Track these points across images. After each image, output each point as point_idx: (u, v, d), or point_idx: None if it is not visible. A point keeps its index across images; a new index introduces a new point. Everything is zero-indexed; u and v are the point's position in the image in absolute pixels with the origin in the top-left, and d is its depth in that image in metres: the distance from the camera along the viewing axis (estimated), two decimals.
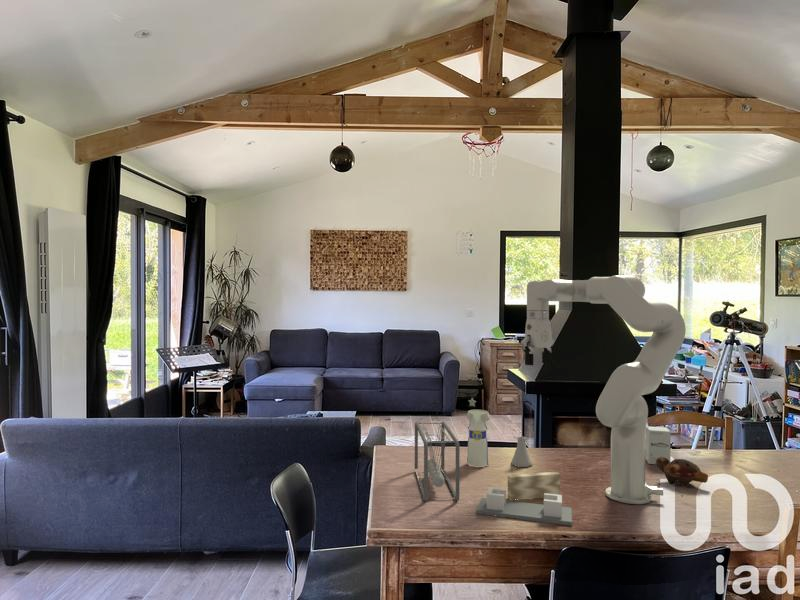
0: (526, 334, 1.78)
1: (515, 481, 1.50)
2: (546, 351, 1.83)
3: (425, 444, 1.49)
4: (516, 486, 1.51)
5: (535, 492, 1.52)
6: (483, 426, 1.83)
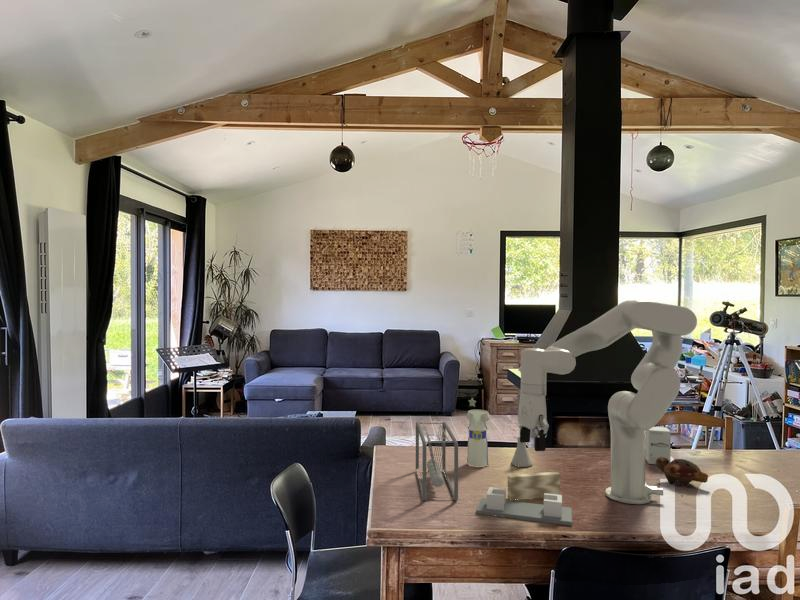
0: None
1: (515, 481, 1.50)
2: None
3: (424, 444, 1.49)
4: (516, 486, 1.51)
5: (535, 492, 1.52)
6: (483, 426, 1.83)
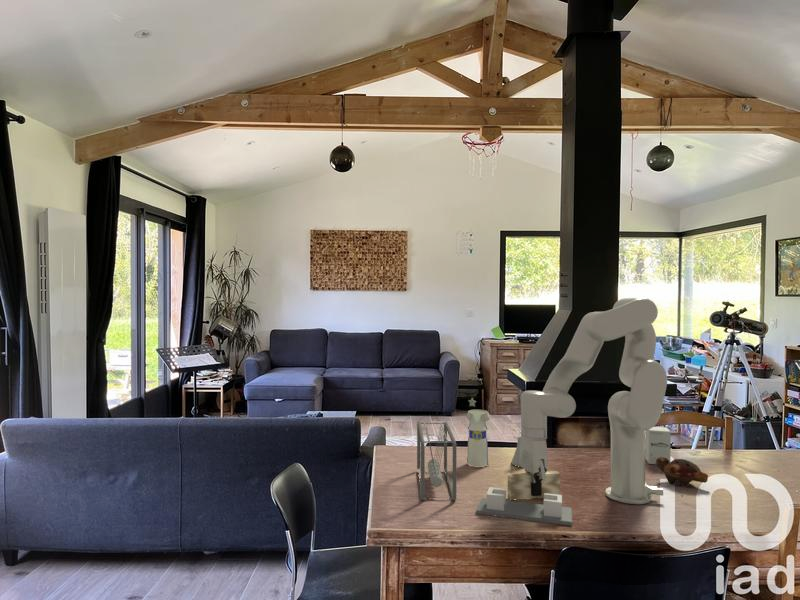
0: None
1: (515, 480, 1.50)
2: None
3: (422, 444, 1.49)
4: (516, 485, 1.51)
5: None
6: (483, 426, 1.83)
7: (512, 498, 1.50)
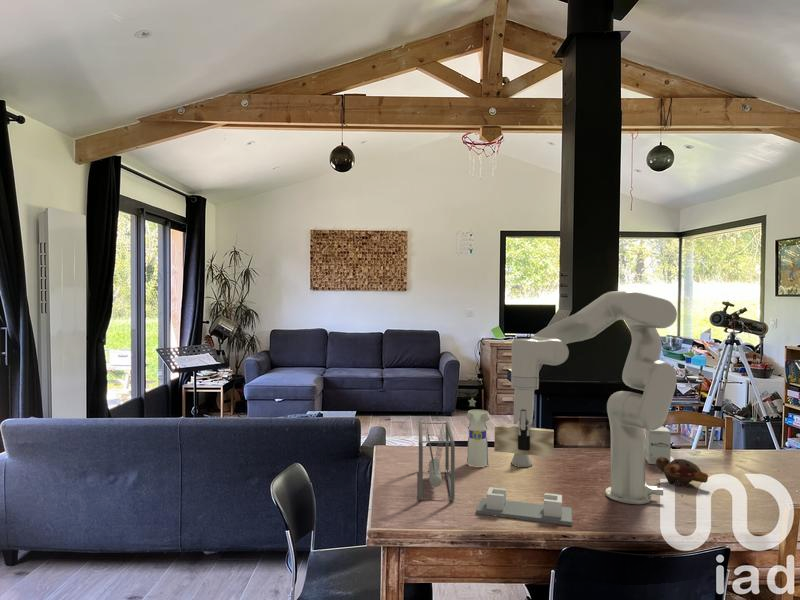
0: None
1: (499, 431, 1.44)
2: None
3: (420, 444, 1.49)
4: (500, 436, 1.44)
5: None
6: (483, 426, 1.83)
7: (496, 449, 1.44)
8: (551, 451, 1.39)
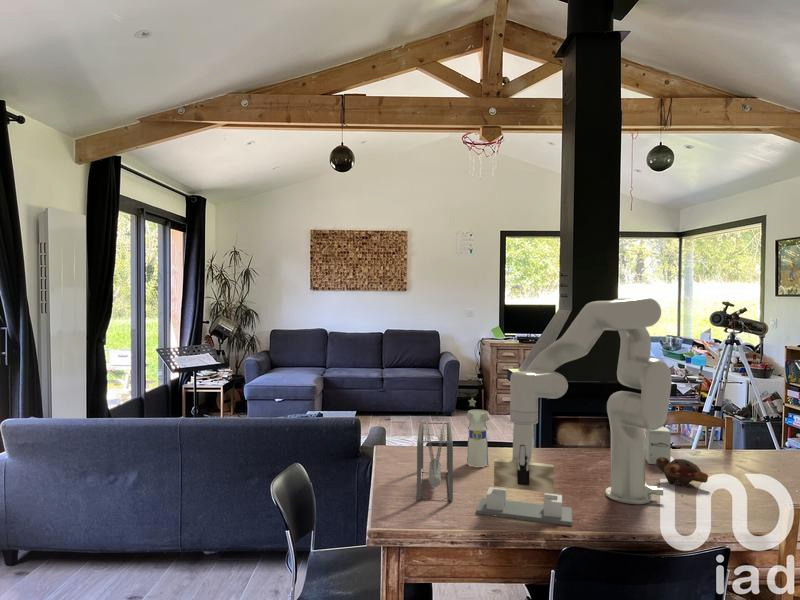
0: None
1: (499, 466, 1.42)
2: None
3: (418, 443, 1.50)
4: (500, 471, 1.42)
5: None
6: (483, 426, 1.83)
7: (495, 484, 1.42)
8: (551, 487, 1.38)
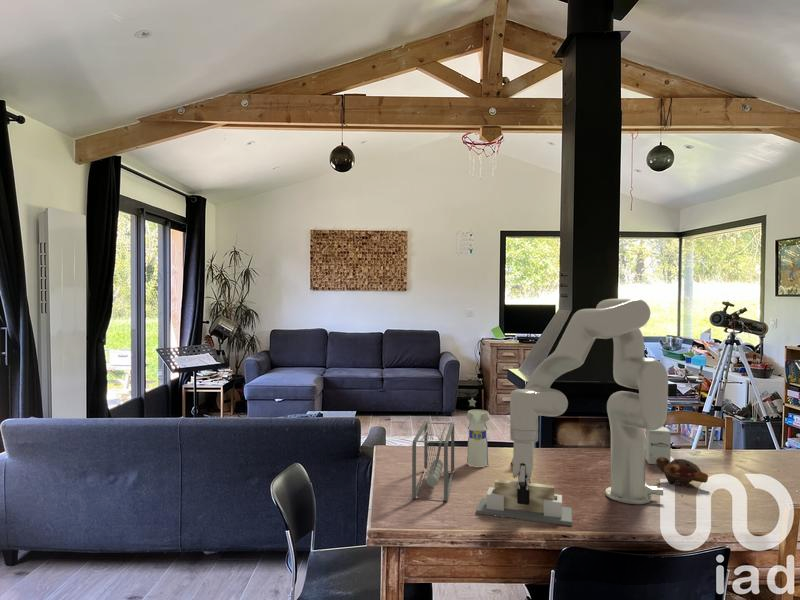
0: None
1: (499, 487, 1.42)
2: None
3: (413, 443, 1.50)
4: (500, 492, 1.42)
5: None
6: (483, 426, 1.83)
7: None
8: None
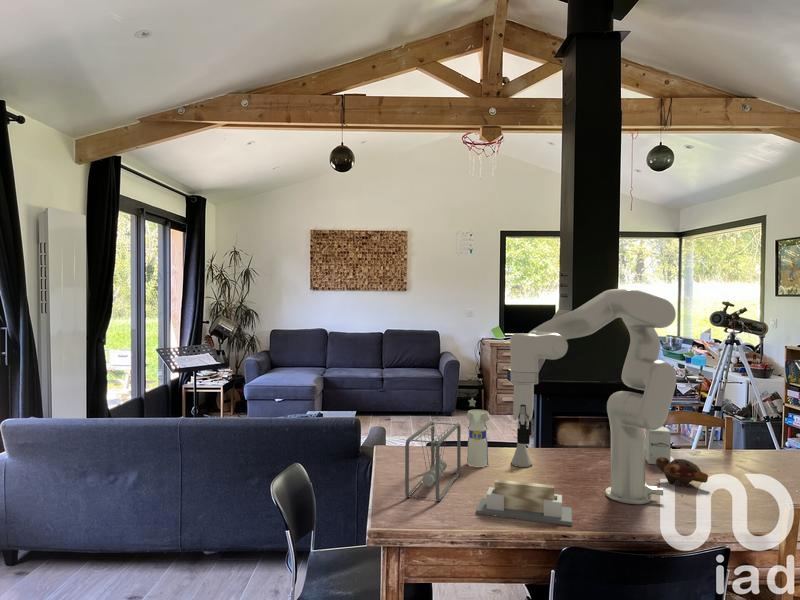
0: None
1: (499, 487, 1.42)
2: None
3: (406, 442, 1.52)
4: (500, 492, 1.42)
5: (523, 503, 1.40)
6: (483, 426, 1.83)
7: None
8: None
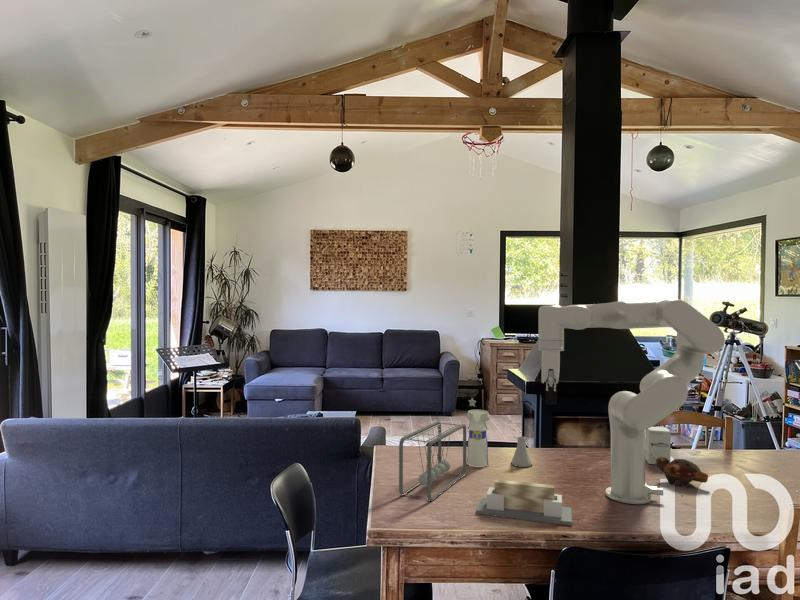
0: None
1: (499, 487, 1.42)
2: None
3: (400, 440, 1.53)
4: (500, 492, 1.42)
5: (523, 503, 1.40)
6: (483, 426, 1.83)
7: None
8: None
